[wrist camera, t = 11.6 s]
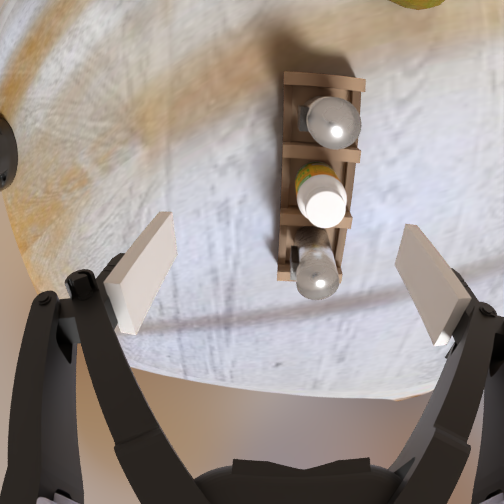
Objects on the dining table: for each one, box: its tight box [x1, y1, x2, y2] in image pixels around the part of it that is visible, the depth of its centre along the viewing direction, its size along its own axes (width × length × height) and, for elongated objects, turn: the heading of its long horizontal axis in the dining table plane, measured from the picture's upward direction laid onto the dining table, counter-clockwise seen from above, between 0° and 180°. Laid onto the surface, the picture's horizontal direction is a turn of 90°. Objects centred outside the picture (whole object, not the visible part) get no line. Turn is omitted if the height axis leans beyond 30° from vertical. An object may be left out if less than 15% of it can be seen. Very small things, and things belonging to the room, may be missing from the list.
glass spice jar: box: [290, 226, 339, 300], centre depth 36 cm, size 5×5×10 cm
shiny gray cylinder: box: [297, 96, 361, 149], centre depth 28 cm, size 5×5×10 cm
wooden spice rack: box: [277, 71, 366, 283], centre depth 35 cm, size 9×27×4 cm, turn 0°
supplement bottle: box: [295, 161, 347, 228], centre depth 32 cm, size 5×5×10 cm
